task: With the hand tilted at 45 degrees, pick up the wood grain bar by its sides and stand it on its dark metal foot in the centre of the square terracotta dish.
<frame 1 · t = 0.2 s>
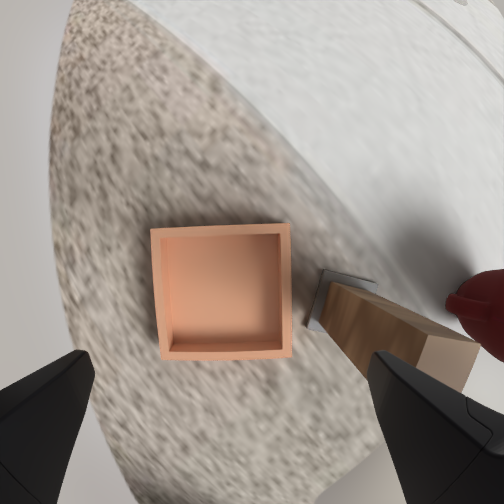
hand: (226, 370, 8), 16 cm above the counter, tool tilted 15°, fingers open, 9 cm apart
wood grain bar: (342, 305, 24), on the counter
dish: (223, 289, 24), on the counter
mug: (457, 299, 25), on the counter
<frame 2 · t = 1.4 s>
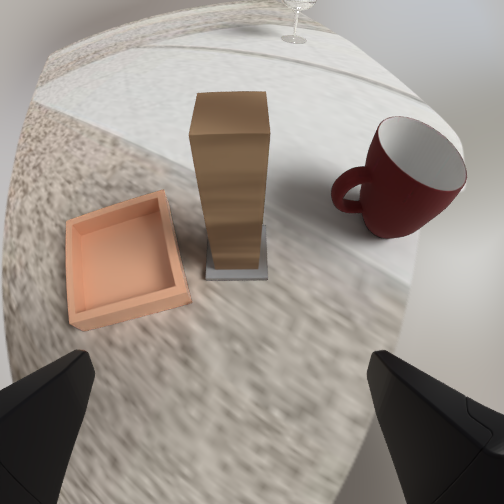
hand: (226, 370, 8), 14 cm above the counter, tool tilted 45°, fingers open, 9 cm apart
wood grain bar: (236, 253, 26), on the counter
wineglass: (293, 39, 48), on the counter
dish: (126, 265, 25), on the counter
mug: (370, 224, 28), on the counter
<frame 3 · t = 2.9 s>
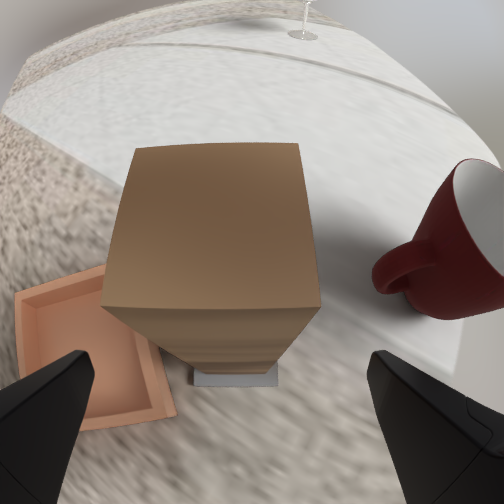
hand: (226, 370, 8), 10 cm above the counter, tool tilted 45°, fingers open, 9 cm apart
wood grain bar: (235, 347, 18), on the counter
wineglass: (302, 35, 40), on the counter
dish: (91, 356, 17), on the counter
mug: (411, 294, 20), on the counter
when the fingers open (8 cm above the counter, at t = 8.0 s): wood grain bar drops 1 cm, resting on dish.
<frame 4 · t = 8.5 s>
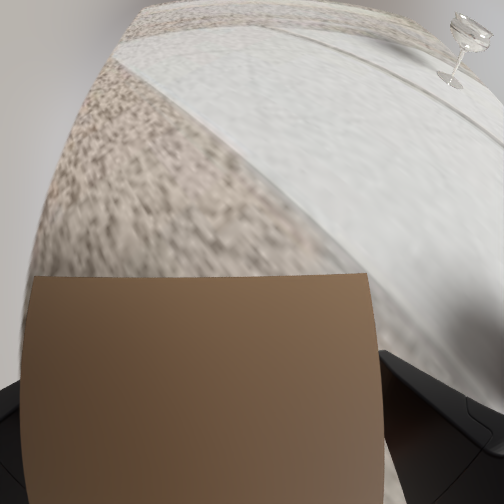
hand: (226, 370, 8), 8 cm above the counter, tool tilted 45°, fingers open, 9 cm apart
wood grain bar: (235, 405, 15), resting on dish
wineglass: (450, 80, 34), on the counter
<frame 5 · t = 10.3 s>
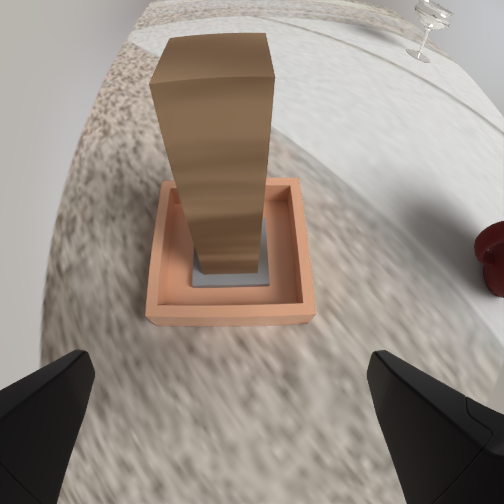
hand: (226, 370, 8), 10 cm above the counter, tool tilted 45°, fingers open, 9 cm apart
wood grain bar: (230, 253, 21), resting on dish
wineglass: (418, 56, 40), on the counter
dish: (230, 256, 21), on the counter
mug: (487, 277, 21), on the counter
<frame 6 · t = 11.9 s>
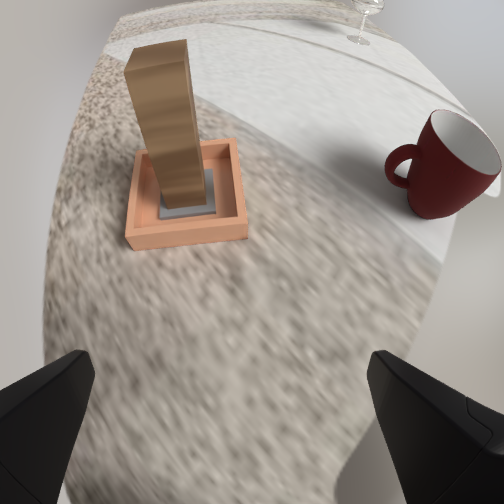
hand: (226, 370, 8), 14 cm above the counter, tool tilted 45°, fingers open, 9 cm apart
wood grain bar: (187, 194, 27), resting on dish
wineglass: (358, 40, 48), on the counter
dish: (188, 198, 28), on the counter
mug: (413, 204, 28), on the counter
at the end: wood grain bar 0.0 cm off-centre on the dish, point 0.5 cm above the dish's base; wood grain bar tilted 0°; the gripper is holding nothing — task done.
